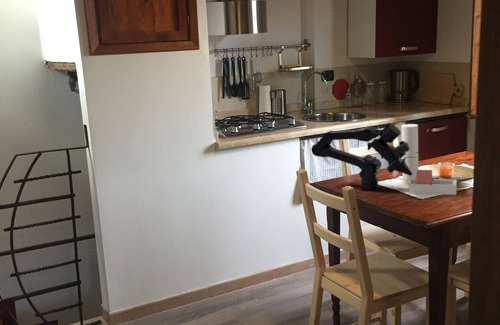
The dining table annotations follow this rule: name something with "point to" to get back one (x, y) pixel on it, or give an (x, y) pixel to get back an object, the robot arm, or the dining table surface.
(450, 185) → the plug guide
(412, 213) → the dining table surface
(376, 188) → the robot arm
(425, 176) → the plug
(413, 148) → the cylindrical container
